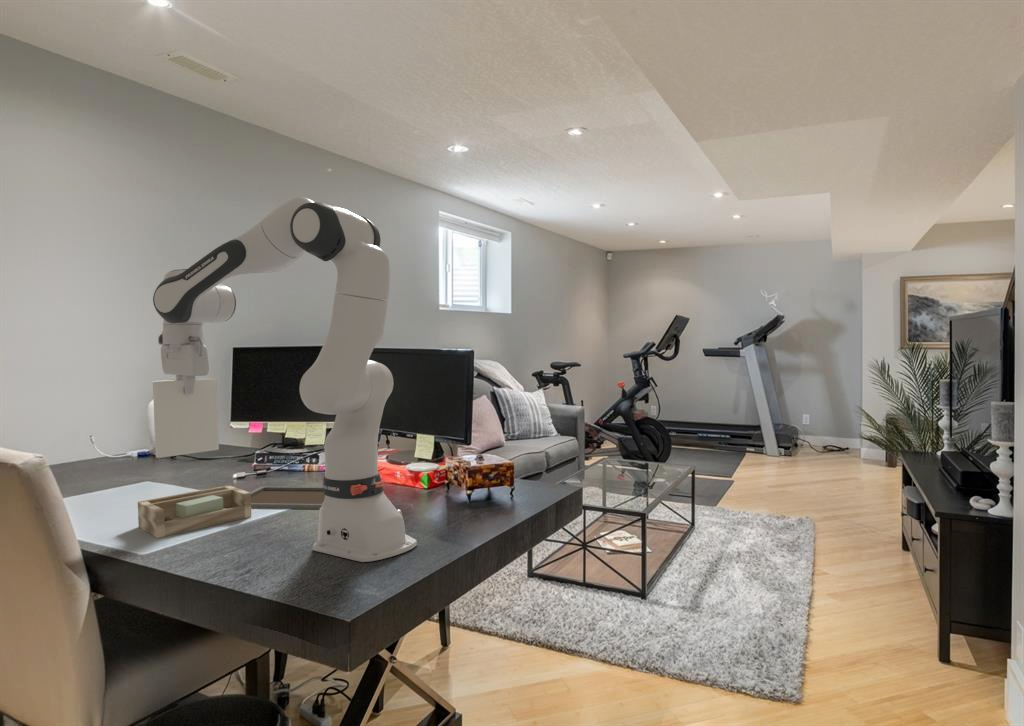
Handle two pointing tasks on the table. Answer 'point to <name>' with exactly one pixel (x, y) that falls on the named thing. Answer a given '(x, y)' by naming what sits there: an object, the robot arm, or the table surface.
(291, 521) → the table surface
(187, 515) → the offcut top
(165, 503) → the rack
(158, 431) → the off-white rectangular board
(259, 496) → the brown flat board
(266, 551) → the table surface
